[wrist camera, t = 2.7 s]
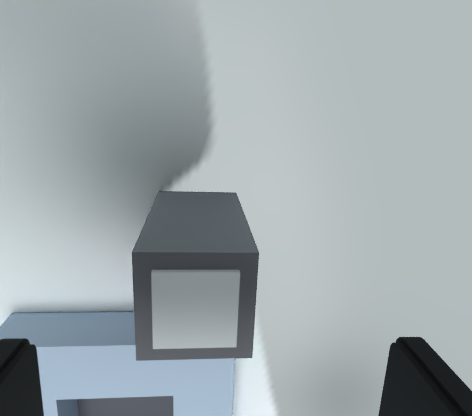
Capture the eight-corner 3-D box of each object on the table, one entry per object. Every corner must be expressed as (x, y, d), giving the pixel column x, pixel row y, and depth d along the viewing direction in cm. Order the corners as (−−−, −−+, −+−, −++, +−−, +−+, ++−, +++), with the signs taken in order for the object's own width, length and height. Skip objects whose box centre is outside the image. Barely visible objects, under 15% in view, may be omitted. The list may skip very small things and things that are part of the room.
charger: (159, 191, 19) (130, 254, 11) (236, 192, 20) (259, 254, 12) (160, 262, 20) (134, 364, 13) (232, 262, 21) (253, 361, 13)
